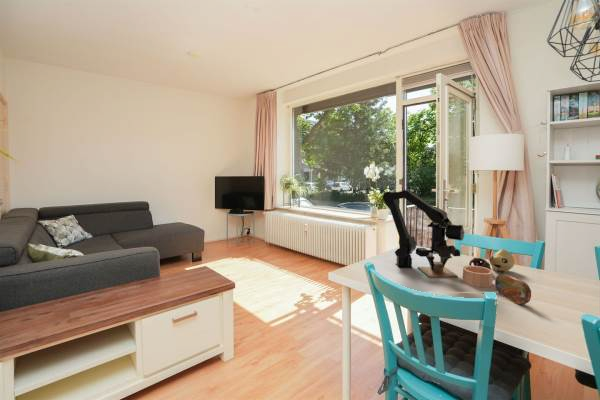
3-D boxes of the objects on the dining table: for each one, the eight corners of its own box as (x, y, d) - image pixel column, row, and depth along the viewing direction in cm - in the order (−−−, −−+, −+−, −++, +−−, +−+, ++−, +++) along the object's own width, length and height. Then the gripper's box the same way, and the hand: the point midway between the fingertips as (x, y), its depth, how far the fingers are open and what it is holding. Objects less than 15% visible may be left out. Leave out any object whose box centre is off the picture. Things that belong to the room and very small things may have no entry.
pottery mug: (497, 277, 141) (492, 263, 138) (477, 285, 143) (471, 271, 140) (484, 263, 152) (479, 250, 149) (465, 270, 154) (460, 257, 151)
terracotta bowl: (471, 288, 127) (472, 274, 126) (457, 278, 138) (458, 265, 137) (497, 288, 127) (498, 274, 126) (482, 278, 138) (482, 265, 137)
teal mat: (427, 279, 137) (427, 278, 137) (414, 268, 152) (415, 267, 152) (461, 279, 137) (461, 278, 137) (445, 268, 152) (445, 267, 152)
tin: (493, 291, 124) (495, 271, 123) (501, 291, 124) (502, 270, 123) (523, 308, 109) (525, 285, 108) (532, 307, 109) (533, 285, 108)
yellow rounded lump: (484, 271, 147) (485, 249, 146) (493, 266, 155) (494, 245, 154) (508, 276, 140) (509, 254, 139) (516, 271, 148) (517, 249, 146)
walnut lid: (428, 277, 138) (429, 267, 137) (417, 268, 151) (418, 259, 150) (457, 277, 138) (458, 267, 137) (444, 268, 151) (444, 258, 150)
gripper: (425, 241, 134) (424, 276, 136) (467, 241, 135) (466, 275, 136) (415, 235, 146) (414, 267, 147) (454, 235, 146) (453, 267, 147)
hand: (437, 269), depth 144 cm, fingers closed on walnut lid, 4 cm apart
